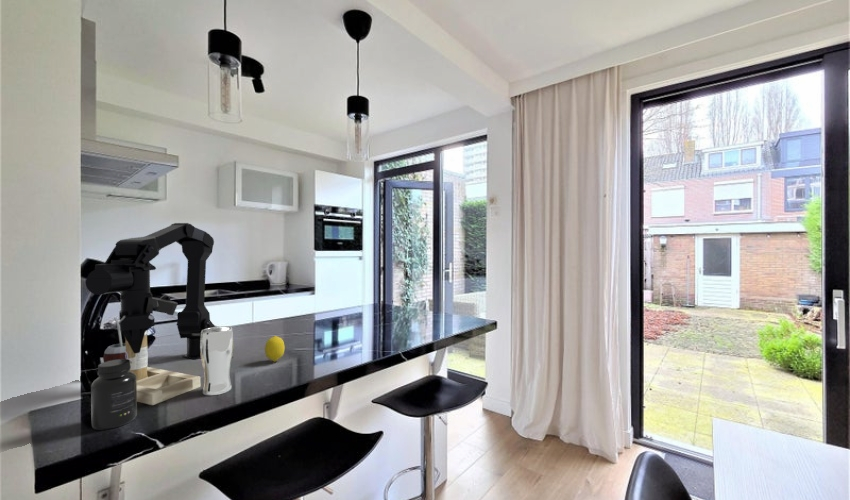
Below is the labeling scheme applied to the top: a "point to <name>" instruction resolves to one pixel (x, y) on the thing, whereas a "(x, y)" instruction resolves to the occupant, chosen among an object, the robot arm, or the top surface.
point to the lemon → (274, 348)
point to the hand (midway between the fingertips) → (136, 350)
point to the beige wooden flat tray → (160, 378)
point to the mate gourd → (115, 348)
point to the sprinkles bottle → (138, 359)
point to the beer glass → (216, 359)
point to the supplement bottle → (113, 395)
